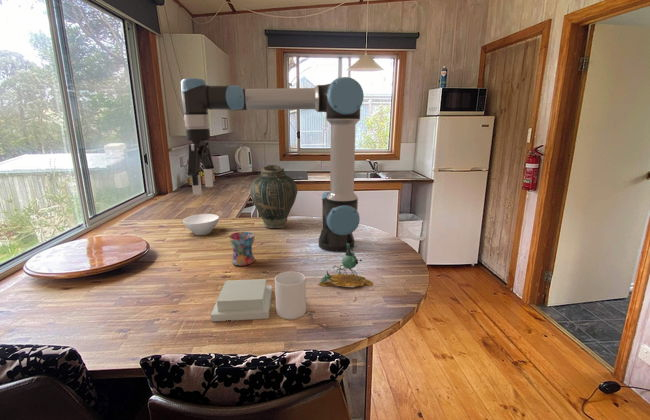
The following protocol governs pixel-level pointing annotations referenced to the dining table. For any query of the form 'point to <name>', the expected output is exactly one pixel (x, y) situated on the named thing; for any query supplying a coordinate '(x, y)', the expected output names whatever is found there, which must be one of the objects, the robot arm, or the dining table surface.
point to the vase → (273, 196)
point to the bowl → (201, 223)
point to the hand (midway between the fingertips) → (203, 190)
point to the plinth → (244, 313)
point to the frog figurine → (346, 280)
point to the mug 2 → (290, 294)
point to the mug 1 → (242, 248)
